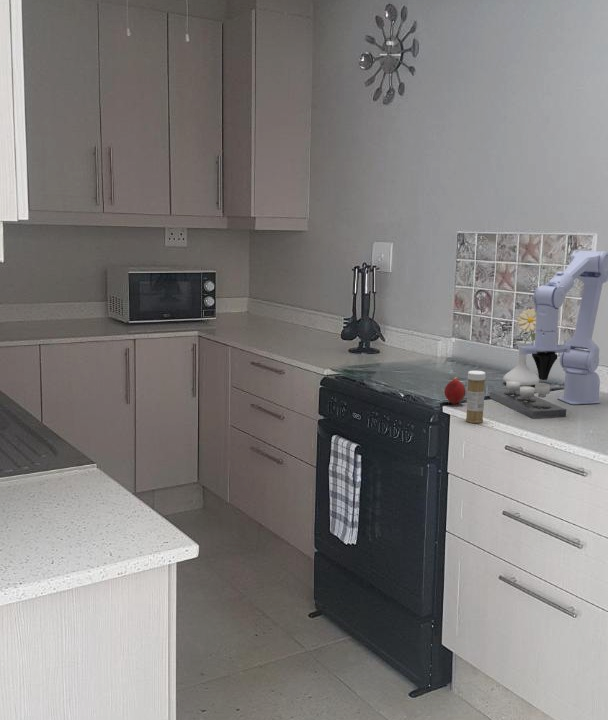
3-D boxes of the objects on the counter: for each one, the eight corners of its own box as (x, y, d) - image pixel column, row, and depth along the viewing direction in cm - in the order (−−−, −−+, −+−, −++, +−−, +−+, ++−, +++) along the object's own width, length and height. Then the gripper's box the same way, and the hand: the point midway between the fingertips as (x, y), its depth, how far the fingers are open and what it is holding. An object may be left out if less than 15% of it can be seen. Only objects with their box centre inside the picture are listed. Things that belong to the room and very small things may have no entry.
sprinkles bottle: (477, 418, 223) (479, 369, 221) (486, 423, 219) (489, 372, 217) (462, 420, 222) (464, 370, 219) (471, 424, 218) (473, 373, 215)
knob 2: (544, 394, 231) (545, 382, 231) (552, 397, 228) (553, 385, 227) (531, 395, 230) (532, 383, 230) (539, 398, 227) (539, 386, 226)
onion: (458, 407, 235) (460, 380, 234) (440, 404, 239) (441, 377, 237) (468, 404, 240) (469, 377, 238) (450, 401, 243) (451, 374, 242)
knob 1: (515, 391, 247) (516, 380, 246) (522, 394, 243) (523, 383, 243) (503, 392, 246) (504, 380, 245) (510, 395, 242) (510, 383, 242)
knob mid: (529, 397, 239) (530, 385, 239) (536, 400, 236) (537, 388, 235) (516, 398, 238) (517, 386, 238) (523, 401, 235) (524, 389, 234)
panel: (520, 396, 251) (520, 389, 250) (565, 416, 227) (566, 409, 226) (489, 397, 248) (490, 391, 248) (532, 418, 224) (533, 411, 224)
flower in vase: (495, 383, 269) (499, 306, 264) (519, 379, 275) (523, 304, 271) (526, 391, 258) (531, 310, 254) (551, 386, 264) (556, 308, 260)
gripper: (561, 327, 231) (558, 375, 234) (514, 328, 227) (511, 377, 230) (576, 331, 225) (572, 380, 227) (528, 332, 221) (525, 382, 223)
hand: (543, 379), depth 228 cm, fingers closed
